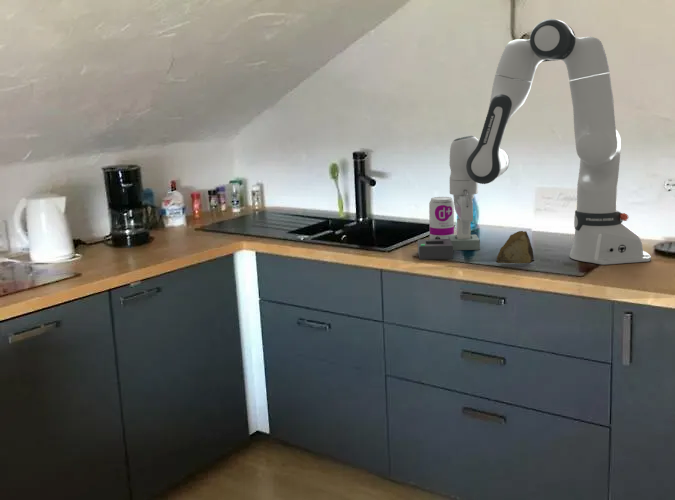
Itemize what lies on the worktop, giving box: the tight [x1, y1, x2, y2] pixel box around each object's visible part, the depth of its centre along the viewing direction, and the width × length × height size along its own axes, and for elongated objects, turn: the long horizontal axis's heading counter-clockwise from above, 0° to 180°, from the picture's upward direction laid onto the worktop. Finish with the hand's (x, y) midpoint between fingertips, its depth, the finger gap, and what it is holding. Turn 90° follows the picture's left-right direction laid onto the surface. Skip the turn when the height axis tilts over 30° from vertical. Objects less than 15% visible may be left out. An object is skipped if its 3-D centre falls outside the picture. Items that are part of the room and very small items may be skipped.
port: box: [417, 238, 454, 260], centre depth 221 cm, size 10×10×5 cm
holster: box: [448, 234, 481, 251], centre depth 231 cm, size 9×9×4 cm
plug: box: [456, 218, 472, 239], centre depth 230 cm, size 4×3×9 cm
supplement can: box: [428, 196, 455, 239], centre depth 243 cm, size 8×8×15 cm
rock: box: [496, 230, 535, 264], centre depth 213 cm, size 11×9×10 cm
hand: (463, 230), depth 230 cm, fingers open, 8 cm apart
